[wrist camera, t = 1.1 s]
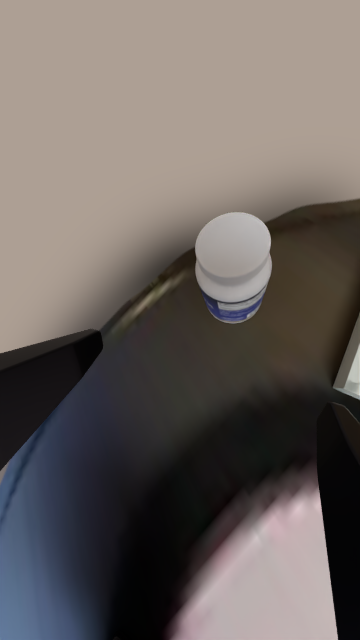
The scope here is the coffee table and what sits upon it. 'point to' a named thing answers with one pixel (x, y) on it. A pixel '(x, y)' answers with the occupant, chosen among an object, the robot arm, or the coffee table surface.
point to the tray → (350, 366)
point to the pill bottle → (233, 265)
